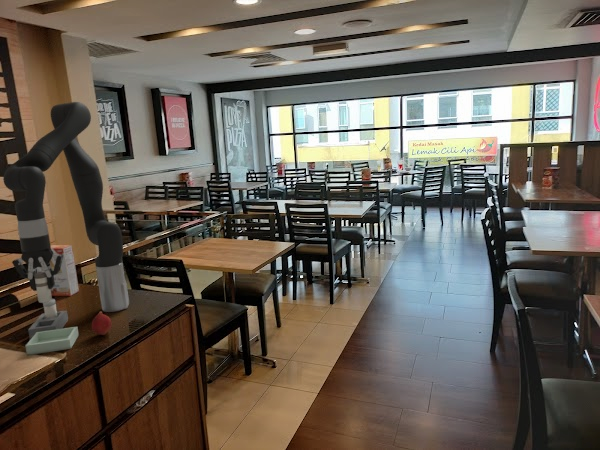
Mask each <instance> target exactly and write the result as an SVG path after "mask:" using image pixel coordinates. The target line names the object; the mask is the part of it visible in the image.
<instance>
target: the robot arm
mask: <svg viewBox="0 0 600 450" xmlns="http://www.w3.org/2000/svg"><path fill="white" fill-rule="evenodd" d="M50 119H51V123H52V126H53V130H51V131H49V132H48V133H46V134H44V135H43V136H42V137H41V138H39V139H38V140H37V141H36V142H35V143H34V144H33V145H32V147H30V149H29V150H28V152H27V153H26V154H25V155H24V156H22V157H21V158H19V159H18V160H16V161H15V162H14V163H12V164H11V165H10V166H8V168H6V170H5V172H4V175H3V177H2V179H3V184H4V186H5V187H6V188H7V190H9V191H12V192H25V198H23V199H20V200H17V201H16V202H15V204H14V205H15V206H14V207H15V209H14V210H15V213H16V220H17V234H18V235H17V236H18V237H19V242H20V249H21V257H19V258H16V259H15V258H14V260H12V262H11V264H12V265H13V267H14V268H15V270H16V272H17V273H18V275H19V276H20V278H22V279H28V281H29V287H30V289H31V290H32V291H33V292H37V290H36V285H35V278H34V273H35V272H37V267H42V268H43V270H44V271H45V273H46V275H47V282H48V288H49V289H52V288H53V286H54V285H55V281H54V275H56V274H58V273H59V272H60V268H61V264H62V260H63V254H60V255H58V254H54V253H53V251H52V250H51V241H50V235H49V228H48V223H47V220H46V215H45V209H44V199H45V192H46V184H47V183H46V176H45V174H44V172H46V171H48V170H49V169H50V168H51V167H52V165H53V164H54V163H55V161H56V160H57V159H58V157H59V156H60V154H61V153H62V152H63V153H64V156H65V160H66V162H67V164H68V165H67V166H68V168H69V169H68V170H69V172H70V176H71V179H72V183H73V187H74V189H75V191H76V195H77V199H78V201H79V205H80V207H81V211H82V215H83V221H84V226H85V227H84V228H85V232H86V235H87V236H86V237H87V239H88V240H89V242H90V243H91V244H93V245H95V246H98V247H97V248H98V256H96V257H95V259H94V264H95V271H96V276H97V277H96V278H97V283H98V290H99V298H100V304H101V311H102V312H105V313H111V312H112V313H114V312H119V311H122V310H125V309H128V308H129V304H130V298H129V293H128V292H129V291H128V285H127V280H126V278H125V271H124V270H125V269H124V264H123V257H124V245H123V244H124V243H123V242H124V241H123V235H122V234H123V233H122V230H121V228H120V226H119V225H118V224H117V223H116V222H112V221H107V218H106V216H105V213H104V209H103V202H102V201H103V194H104V184H103V178H102V176H101V172H100V168H99V166H98V164H97V163H96V162H95V160H94V159H93V158H92V157H91V156H90V155H89V153H87V152H86V151H85V150H84V148H83V146H81V144H80V143H79V141H78V138H77V137H78V136H79V135H80V134H81V133H82V132H84V131H85V130H86V129H87V128H88V127H89V126H90V124H91V121H92V115H91V112H90V110H89V108H88V106H87V105H85V104H84V103H83V102H79V101H72V102H71V101H70V102H66V103H59V104H56V105H53V106H52V107H51V109H50ZM52 257H53V258H54V261H55V262H56V263H55V267H54V271H53V270H52V268H51V264H50V261H51V259H52ZM24 263H25V264H26V265H27V266H28V268H27V269H26V268H25V265H24Z"/></svg>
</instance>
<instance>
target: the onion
mask: <svg viewBox="0 0 600 450" xmlns="http://www.w3.org/2000/svg"><path fill="white" fill-rule="evenodd" d="M112 326H113V325H112V319H111V318H110V317H109V316H108V315H106V314H103V311H99V313H98V314H97V315H96V316H95V317H94V318H93V319H92V321H91V329H92V331H93V332H94V333H96V334H97V335H101V336H105V335H106V334H107V333H108V332H109V331H110V330H111V328H112Z"/></svg>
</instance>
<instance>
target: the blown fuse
mask: <svg viewBox="0 0 600 450" xmlns="http://www.w3.org/2000/svg"><path fill="white" fill-rule="evenodd" d="M34 278H35V285H36V290H37V291H36V295H37V301H38V303H40V304H43V303H44V302H49V301H51V300H52V299H53V296H51V290H50V289H49V288H48V282H47V275H46V273H45V271H38V272H37V271H36V272H35V273H34Z"/></svg>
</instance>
